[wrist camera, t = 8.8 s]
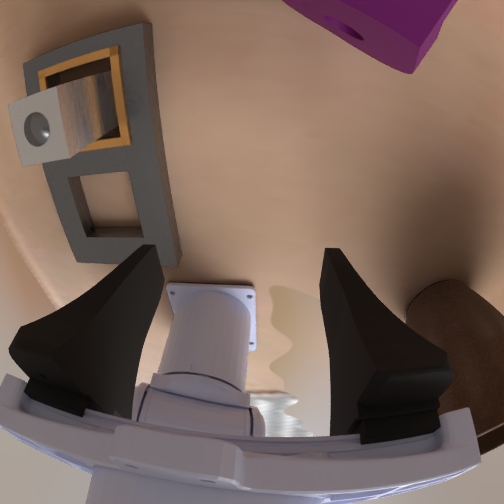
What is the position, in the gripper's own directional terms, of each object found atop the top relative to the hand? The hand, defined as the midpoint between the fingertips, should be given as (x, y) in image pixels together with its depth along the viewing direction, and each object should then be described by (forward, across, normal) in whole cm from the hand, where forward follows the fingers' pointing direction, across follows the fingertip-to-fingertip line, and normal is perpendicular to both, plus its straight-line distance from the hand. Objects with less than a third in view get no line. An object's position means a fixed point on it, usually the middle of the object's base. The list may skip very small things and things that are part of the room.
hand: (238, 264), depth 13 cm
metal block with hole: (+10, +11, -6) cm, 16 cm away
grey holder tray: (+9, +11, -2) cm, 15 cm away
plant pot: (+10, -19, +13) cm, 25 cm away
